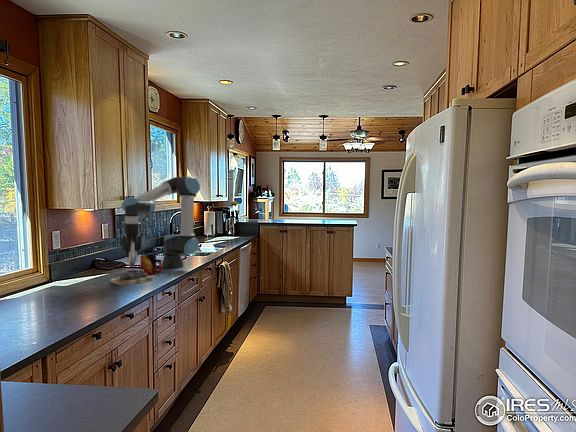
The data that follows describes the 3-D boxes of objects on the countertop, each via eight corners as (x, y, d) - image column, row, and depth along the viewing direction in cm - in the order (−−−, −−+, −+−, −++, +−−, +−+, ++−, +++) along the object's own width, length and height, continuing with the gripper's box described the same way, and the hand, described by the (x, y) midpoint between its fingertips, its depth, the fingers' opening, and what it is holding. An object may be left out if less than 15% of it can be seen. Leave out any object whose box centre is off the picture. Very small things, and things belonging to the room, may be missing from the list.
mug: (161, 275, 249) (161, 256, 248) (138, 275, 247) (138, 257, 247) (164, 272, 259) (164, 254, 258) (142, 272, 257) (142, 254, 256)
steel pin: (132, 264, 233) (132, 241, 232) (136, 265, 231) (136, 242, 230) (127, 265, 230) (127, 242, 229) (130, 266, 228) (130, 242, 227)
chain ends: (139, 276, 243) (139, 267, 243) (152, 280, 235) (152, 270, 235) (110, 282, 227) (110, 272, 227) (124, 286, 219) (124, 275, 219)
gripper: (140, 222, 238) (140, 259, 239) (115, 223, 224) (115, 263, 226) (147, 222, 234) (147, 261, 235) (122, 224, 220) (122, 264, 221)
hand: (131, 262), depth 230 cm, fingers closed on steel pin, 3 cm apart
